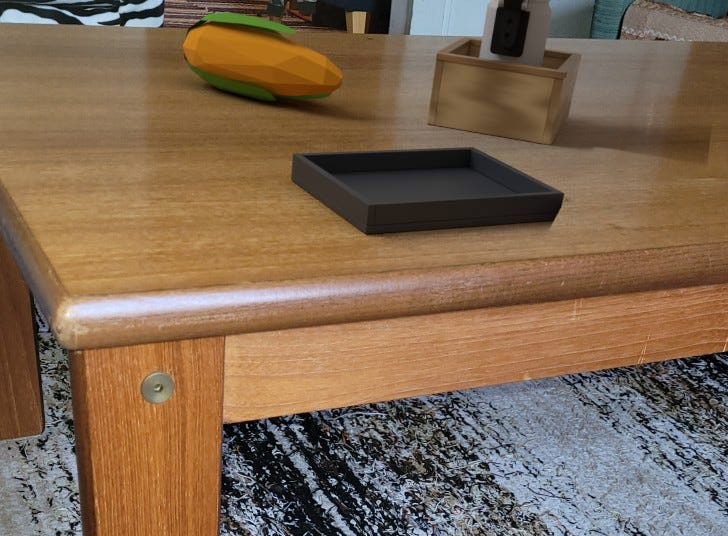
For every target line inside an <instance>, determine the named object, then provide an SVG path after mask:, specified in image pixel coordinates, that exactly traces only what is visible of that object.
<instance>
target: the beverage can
mask: <svg viewBox="0 0 728 536" xmlns="http://www.w3.org/2000/svg"><path fill="white" fill-rule="evenodd" d="M550 2H551V0H530V2H529V6H528V10H527V11H530V18H529V23H528V29H527V34H526V39H525V45H524V50H523V54H522V56H520V57H511V56H505V55H498V54H493V53H491V52H490V46H491V40H492V34H493V28H494V22H495V16H496V10H497V7H498V3H499V0H490V1H489V2H488V3H487V7H486V12H485V19H484V25H483V30H482V38H481V39H482V43H481V49H480V55H479V58H483V59H490V60H496V61H503V62H509V63H516V64H522V65H529V66H535V67H541V66H542V61H543V56H544V51H545V49H546V47H547V46H546V45H547V40H548V35H549V29H550V24H551V19H552V15H553V13H552V12H553V11H552V8H551V5H550Z"/></svg>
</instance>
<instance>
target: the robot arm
mask: <svg viewBox="0 0 728 536" xmlns="http://www.w3.org/2000/svg"><path fill="white" fill-rule="evenodd" d="M529 2H530V0H499V3H498V7H497V10H496V16H495V22H494V28H493V34H492V40H491V46H490V52H491V53H493V54H498V55H505V56H511V57H520V56H522V54H523V50H524V45H525V39H526V34H527V29H528V23H529V18H530V11H527V10H528V6H529Z"/></svg>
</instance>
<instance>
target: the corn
mask: <svg viewBox="0 0 728 536" xmlns="http://www.w3.org/2000/svg"><path fill="white" fill-rule="evenodd" d="M281 33H283V34H288V35H295V34H297V33H298V31H297V30H295V29H293V28H291V27H289V26H287V25H285V24H283V23H280V22H276V21H273V20H268V19H265V18H261V17H258V16H253V15H247V14H240V13H233V12H220V13H219V12H218V13H208V14H207V15H205V16H204V17H202V18H201V19H200V20H198V21H197V22H195V23H194V24H192V25H191V26H189V27H188V28H187V31H186V35H185V38H184V39H185V40H184V42H183V45H182V49H183V50H182V51H183V58H184V61H185V62H186V64H187V65H188V67H189V68H190V70H191V71H192V72H193V73H195V74H196V75H197V76H198V77H199V78H200V79H201V80H203V81H205V82H206V83H208V84H210V85H211V86H213V87H215V88H217V89H218V90H220V91H224V92H228V93H232V94H236V95H239V96H243V97H247V98H252V99H255V100H259V101H262V102H276V101H277V99H276V98H275V97H278V98H279V97H280V98H285V99H292V100H299V101H304V100H308V101H309V100H319V99H326V98H329V97H330V96H331V95H332V93H333V92H335V91H336V90H338V89H339V88H341V87H342V83H343V79H344V74H343V73H342V71H341V70H340V68H339V67H338V66H337V65H336V64H334V63H333V62H332V60H330V59H329V58H328V57H327V56H325V55H323V54H321V53H319V52H317V51H315V50H313V49H311V48H309V47H306V46H304V45H302V44H300V43H298V42H296V41H293V40H291V39H290V38H287V37H285V36H284V35H282V34H281Z"/></svg>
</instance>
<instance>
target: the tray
mask: <svg viewBox="0 0 728 536" xmlns="http://www.w3.org/2000/svg"><path fill="white" fill-rule="evenodd" d="M290 175H291V176H290V180H291V182H293V183H294V184H296V185H297V186H299V187H300V188H301V189H303V190H304V191H305V192H307V193H308V194H309V195H311V196H313V197H314V198H315V199H317V200H318V201H319V202H321V203H322V204H323V205H325V206H326V207H327V208H329V209H330V210H332V211H333V212H335V214H337V215H338V216H340V217H342V218H343V219H344V220H346V221H347V222H348V223H349V224H351V225H352V226H353V227H355V228H356V229H358V230H359V231H361V232H362V233H363V234H365V235H373V234H374V235H375V234H387V233H402V232H415V231H426V230H427V231H428V230H429V231H430V230H441V229H443V230H444V229H456V228H467V227H468V228H469V227H481V226H494V225H509V224H521V223H522V224H523V223H536V222H548V221H549V222H551V221H555V220H556V218H557V216H558V214H559V212H560V211H561V209H562V206H563V202H564V198H565V192H564V191H562V190H559V189H558V188H555V187H553V186H551V185H549V184H547V183H545V182H543V181H542V180H540V179H538V178H535V177H533V176H531V175H529V174H528V173H525V172H523V171H521V170H520V169H518V168H515V167H513V166H512V165H510V164H508V163H505V162H503V161H502V160H499V159H497V158H496V157H494V156H492V155H490V154H488V153H486V152H484V151H481V150H479V149H478V148H476V147H474V146H465V147H463V146H461V147H437V148H435V147H433V148H407V149H406V148H405V149H381V150H379V149H378V150H377V149H376V150H356V151H355V150H352V151H351V150H350V151H324V152H321V151H320V152H302V153H301V152H300V153H299V152H298V153H297V152H296V153H292V161H291V174H290ZM455 227H456V228H455Z"/></svg>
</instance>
